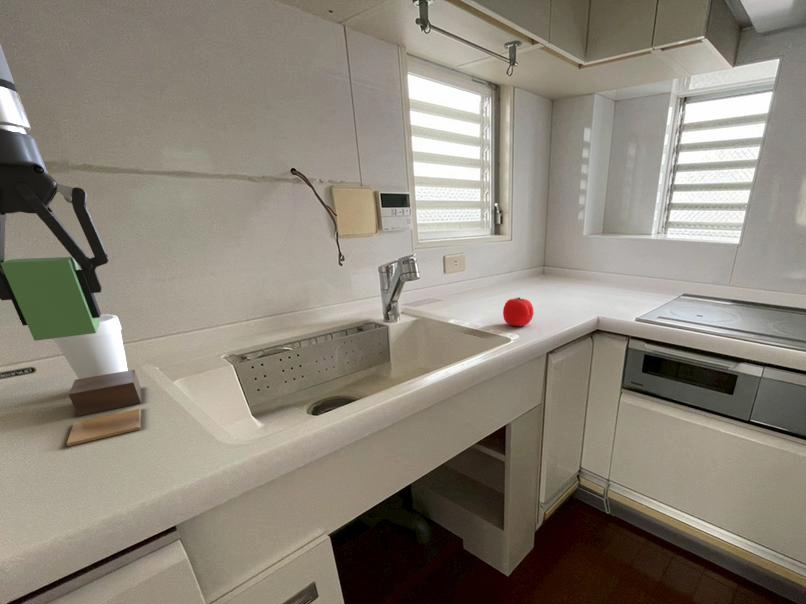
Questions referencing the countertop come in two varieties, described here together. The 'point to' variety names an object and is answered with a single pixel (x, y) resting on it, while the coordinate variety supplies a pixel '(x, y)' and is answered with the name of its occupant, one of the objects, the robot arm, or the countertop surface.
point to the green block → (50, 297)
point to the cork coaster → (104, 427)
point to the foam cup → (96, 349)
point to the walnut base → (105, 392)
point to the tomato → (518, 312)
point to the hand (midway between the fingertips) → (64, 319)
